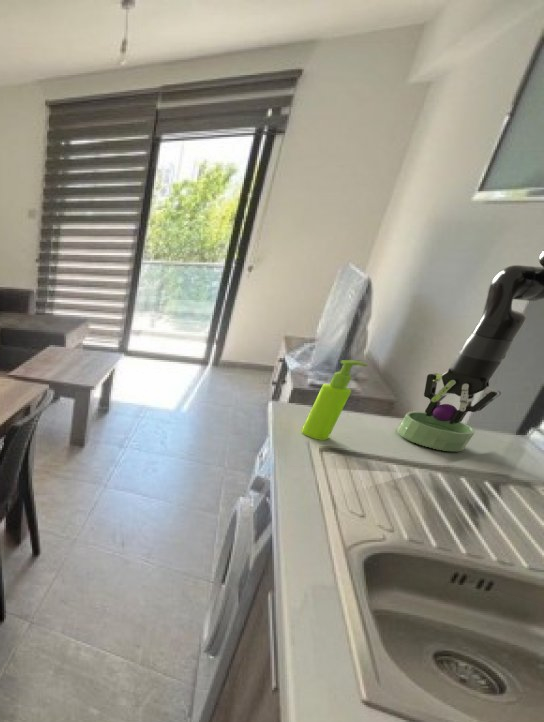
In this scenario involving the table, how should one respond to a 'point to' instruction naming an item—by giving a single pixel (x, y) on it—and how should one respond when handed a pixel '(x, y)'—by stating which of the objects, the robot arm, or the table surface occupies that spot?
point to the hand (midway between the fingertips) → (440, 419)
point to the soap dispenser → (329, 403)
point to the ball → (444, 412)
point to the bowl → (435, 432)
